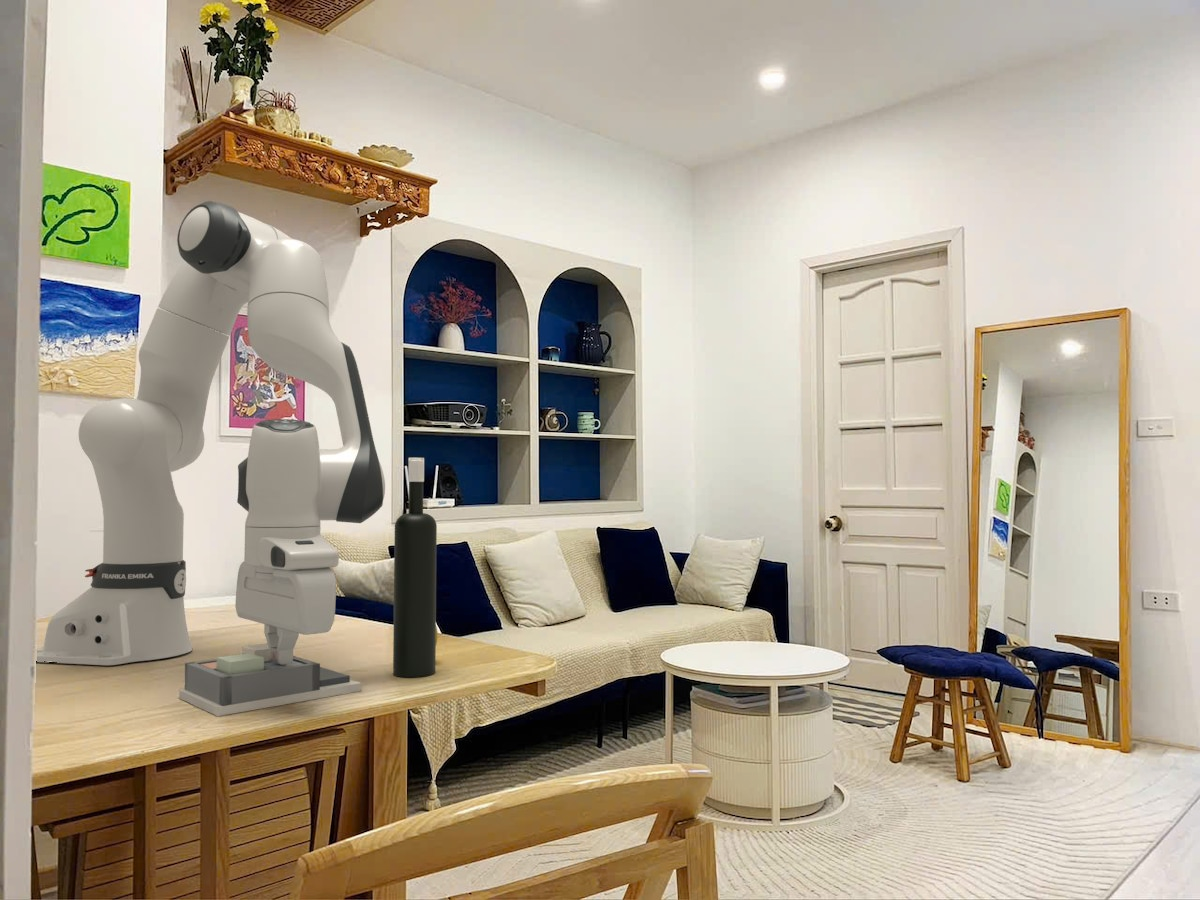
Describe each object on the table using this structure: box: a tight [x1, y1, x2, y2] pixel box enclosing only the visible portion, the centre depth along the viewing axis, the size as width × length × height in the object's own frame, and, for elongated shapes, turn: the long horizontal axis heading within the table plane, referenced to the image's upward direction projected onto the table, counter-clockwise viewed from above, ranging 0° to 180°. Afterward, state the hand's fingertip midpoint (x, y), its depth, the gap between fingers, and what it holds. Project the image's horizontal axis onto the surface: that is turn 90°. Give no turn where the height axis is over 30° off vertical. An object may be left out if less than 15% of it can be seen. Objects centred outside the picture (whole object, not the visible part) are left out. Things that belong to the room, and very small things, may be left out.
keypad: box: [178, 655, 362, 717], centre depth 112 cm, size 18×12×4 cm, turn 134°
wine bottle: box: [392, 457, 438, 678], centre depth 126 cm, size 6×6×30 cm
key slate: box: [264, 661, 302, 669], centre depth 110 cm, size 4×4×2 cm
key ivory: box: [241, 642, 269, 661], centre depth 114 cm, size 4×4×2 cm
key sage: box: [216, 653, 264, 675], centre depth 107 cm, size 4×4×2 cm
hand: (280, 662), depth 111 cm, fingers closed
